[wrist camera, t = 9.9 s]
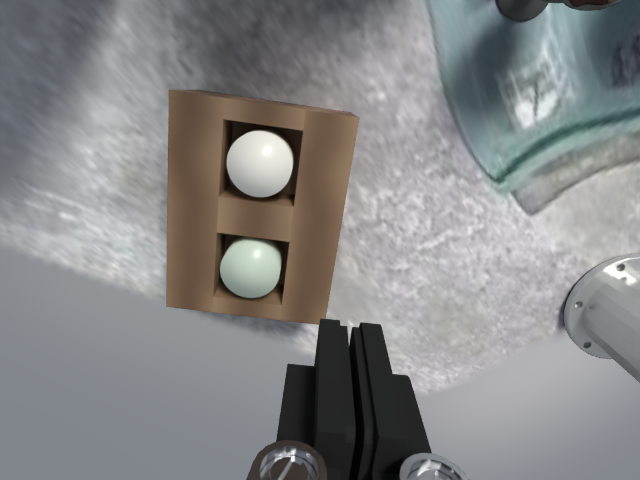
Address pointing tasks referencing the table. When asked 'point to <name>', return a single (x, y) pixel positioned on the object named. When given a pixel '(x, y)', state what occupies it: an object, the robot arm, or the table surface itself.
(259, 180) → the ivory button
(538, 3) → the sundae
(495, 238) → the table surface
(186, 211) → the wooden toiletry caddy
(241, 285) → the sage button
